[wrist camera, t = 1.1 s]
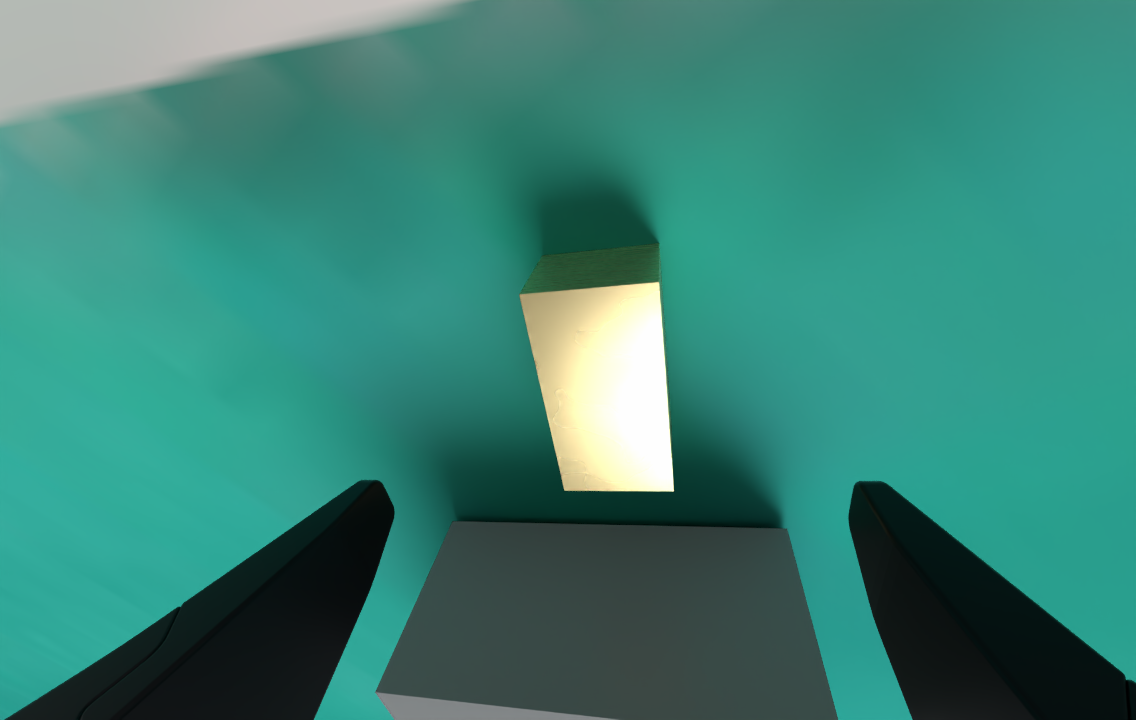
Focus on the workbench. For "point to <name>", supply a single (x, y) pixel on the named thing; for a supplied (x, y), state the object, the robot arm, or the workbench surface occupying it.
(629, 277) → the tall cream wooden block
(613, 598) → the slot box
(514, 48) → the workbench surface
